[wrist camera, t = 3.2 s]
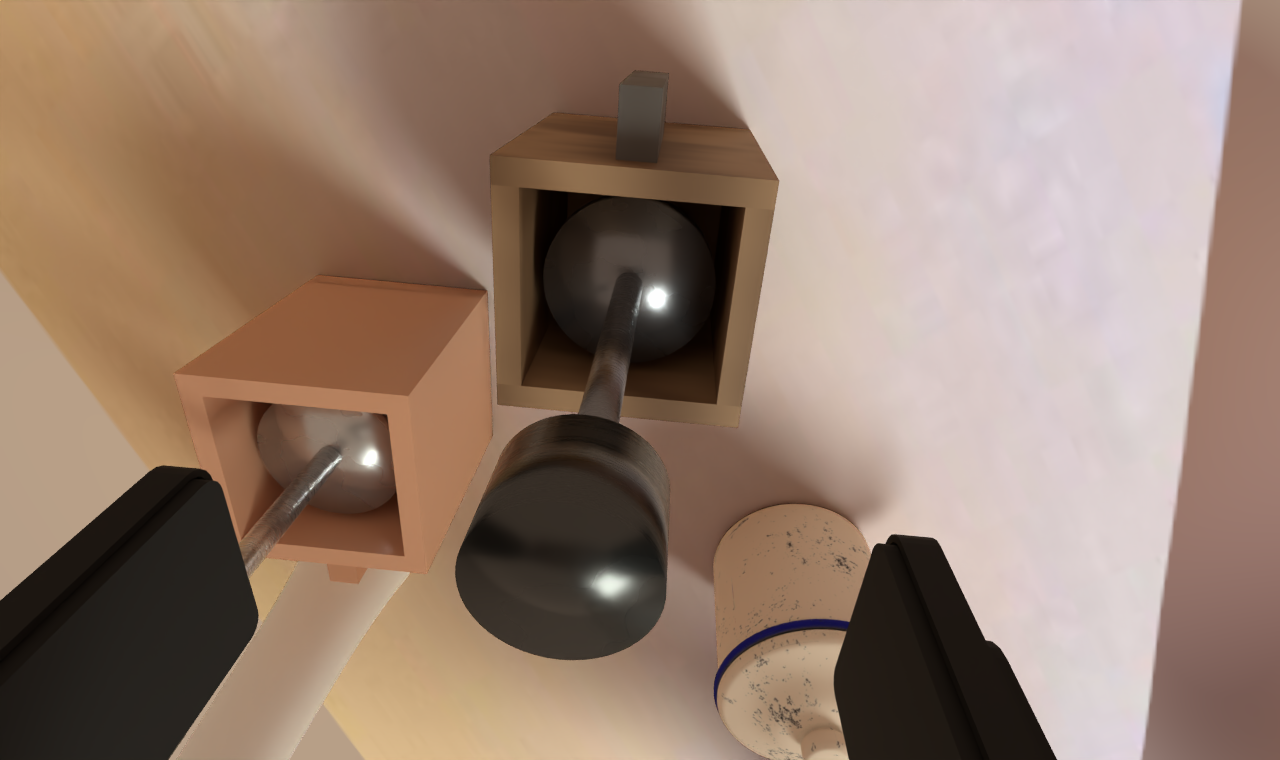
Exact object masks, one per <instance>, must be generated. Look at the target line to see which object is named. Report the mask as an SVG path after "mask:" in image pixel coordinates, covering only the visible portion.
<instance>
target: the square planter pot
mask: <svg viewBox="0 0 1280 760" xmlns="http://www.w3.org/2000/svg"><path fill="white" fill-rule="evenodd" d="M173 374H174V378H175V381H176V385H177V388H178V392H179V395H180V399H181V402H182V406H183V409H184V412H185V416H186V419H187V423H188V426H189V430H190V433H191V437H192V440H193V444H194V447H195V450H196V454H197V457H198V461H199V464H200V468H201V469H203V470H206V471H207V472H208V473H209V474H210V475H211V477H212V479H213V481H217V482H218V483H219V484H220V485H221V487H222V489H223V492H224V496H225V499H226V502H227V506H228V509H229V513H230V516H231V520H232V523H233V527H234V530H235V533H236V537H237V540H238V544H239V542H240V541H241V540H242V539H243V538H244V537H245V535H246V534H247V533H248V532H249V531H250V530H251V529H252V527H253V526H254V525H255V524H256V523H257V522H258V520H259V519H260V518H261V517H262V516H263V515H264V513H265V512H266V511H267V510H268V509H269V508H270V507H271V505H272V504H273V503H274V502H275V501H276V500H277V498H278V497H279V496H280V495H281V494H282V493H283V491H284V490H285V489H284V488H283V487H282V486H281V485H280V484H279V483H278V482H277V481H276V480H275V479H274V478H273V477H272V475H271V474H270V473H269V471H268V470H267V468H266V466H265V465H264V463H263V460H262V458H261V456H260V452H259V449H258V443H257V432H258V426H259V423H260V420H261V418H262V417H263V415H264V413H265V412H266V411H267V410H268V408H269V407H270V406H271V405H272V404H273V403H275V404H286V405H296V406H306V407H317V408H327V409H337V410H348V411H358V412H368V413H379V414H387V416H388V425H389V433H390V441H391V449H392V457H393V465H394V473H395V482H396V490H397V491H396V492H395V494H394V495H393V496H392V497H391V498H390V499H389V500H388V501H387V502H386V503H384V504H383V505H381V506H380V507H378V508H375V509H373V510H370V511H367V512H362V513H354V514H343V513H335V512H329V511H325V510H322V509H319V508H316V507H313V506H311V505H309V504H307V506H306V507H305V508H304V509H303V511H302V512H301V513H300V514H299V516H298V517H297V518H296V520H295V521H294V522H293V523H292V525H291V526H290V527H289V528H288V530H287V531H286V532H285V533H284V535H283V536H282V537H281V539H280V540H279V541H278V542H277V544H276V545H275V546H274V547H273V549H272V550H271V551H270V552H269V554H268V555H267V556H266V557H265V558H274V559H284V560H294V561H304V562H313V563H323V564H327V568H328V573H329V578H330V581H333V582H343V583H353V584H359V582H360V580H361V579H362V577H363V575H364V574H365V572H366V570H367V569H368V568H372V569H382V570H392V571H402V572H411V573H421V574H427V573H428V571H429V569H430V566H431V564H432V562H433V560H434V558H435V556H436V554H437V552H438V550H439V547H440V545H441V543H442V541H443V539H444V537H445V535H446V533H447V531H448V528H449V526H450V524H451V522H452V520H453V518H454V516H455V514H456V512H457V510H458V507H459V505H460V503H461V501H462V499H463V497H464V495H465V493H466V491H467V488H468V486H469V484H470V482H471V480H472V478H473V476H474V474H475V472H476V469H477V467H478V465H479V463H480V461H481V459H482V457H483V455H484V453H485V451H486V448H487V446H488V444H489V442H490V440H491V438H492V436H493V428H492V400H491V373H490V346H489V318H488V291H486V290H475V289H464V288H453V287H442V286H432V285H421V284H410V283H399V282H388V281H378V280H367V279H356V278H345V277H334V276H323V275H317V276H316V277H314V278H313V279H311V280H310V281H308V282H307V283H305V284H304V285H302V286H301V287H300V288H298V289H297V290H295V291H294V292H292V293H291V294H289V295H288V296H286V297H285V298H283V299H282V300H280V301H279V302H278V303H276V304H275V305H273V306H272V307H270V308H269V309H267V310H266V311H264V312H263V313H261V314H260V315H258V316H257V317H255V318H254V319H253V320H251V321H250V322H248V323H247V324H245V325H244V326H242V327H241V328H239V329H238V330H236V331H235V332H233V333H232V334H231V335H229V336H228V337H226V338H225V339H223V340H222V341H220V342H219V343H217V344H216V345H214V346H213V347H211V348H210V349H209V350H207V351H206V352H204V353H203V354H201V355H200V356H198V357H197V358H195V359H194V360H192V361H191V362H189V363H188V364H186V365H185V366H184V367H182V368H181V369H179V370H178V371H176V372H175V373H173Z"/></svg>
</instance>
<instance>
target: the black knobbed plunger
mask: <svg viewBox="0 0 1280 760" xmlns="http://www.w3.org/2000/svg"><path fill="white" fill-rule="evenodd" d="M257 443H258V449H259V452H260V456H261V458H262V460H263V463H264V465H265V466H266V468H267V470H268V471H269V473H270V474H271V475H272V477H273V478H274V479H275V480H276V481H277V482H278V483H279V484H280V485H281V486H282V487H283V488H284V489H285V490H284V491H283V493H282V494H281V495H280V496H279V497H278V498H277V500H276V501H275V502H274V503H273V504H272V505H271V507H270V508H269V509H268V510H267V511H266V512H265V513H264V515H263V516H262V517H261V518H260V519H259V520H258V522H257V523H256V524H255V525H254V526H253V527H252V529H251V530H250V531H249V532H248V533H247V534H246V535H245V537H244V538H243V539H242V540H241V541H240V542H239V547H240V551H241V554H242V558H243V561H244V564H245V568H246V571H247V575H248V578H250V576H251V575H252V574H253V573H254V571H255V570H256V569H257V568H258V566H259V565H260V564H261V563H262V561H263V560H264V559H265V557H266V556H267V555H268V554H269V552H270V551H271V550H272V549H273V547H274V546H275V545H276V544H277V542H278V541H279V540H280V539H281V537H282V536H283V535H284V533H285V532H286V531H287V530H288V528H289V527H290V526H291V525H292V523H293V522H294V521H295V520H296V518H297V517H298V516H299V514H300V513H301V512H302V511H303V509H304V508H305V507H306V506H307V504H309V505H311V506H313V507H316V508H319V509H322V510H325V511H329V512H335V513H343V514H354V513H362V512H367V511H370V510H373V509H375V508H378V507H380V506H381V505H383V504H384V503H386V502H387V501H388V500H389V499H390V498H391V497H392V496H393V495H394V494H395V492H396V491H397V490H396V482H395V473H394V465H393V457H392V449H391V441H390V433H389V425H388V416H387V414H379V413H368V412H358V411H348V410H337V409H327V408H317V407H306V406H296V405H286V404H275V403H273V404H272V405H271V406H270V407H269V408H268V410H267V411H266V412H265V413H264V415H263V417H262V418H261V420H260V423H259V426H258V432H257ZM185 735H186V734H185ZM184 737H185V736H184ZM184 737H183V738H184ZM182 740H183V739H182ZM182 740H181V741H182ZM180 743H181V742H180ZM180 743H179V744H180ZM179 744H178V745H179ZM177 747H178V746H177ZM177 747H176V748H177ZM175 750H176V749H175ZM175 750H174V751H175ZM172 754H173V753H172ZM170 757H171V756H170ZM168 760H169V759H168Z"/></svg>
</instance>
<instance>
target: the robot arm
mask: <svg viewBox="0 0 1280 760" xmlns="http://www.w3.org/2000/svg"><path fill="white" fill-rule="evenodd" d="M257 623H258V609H257V606H256V602H255V599H254V595H253V592H252V589H251V585H250V582H249V578H248V575H247V571H246V568H245V564H244V561H243V558H242V554H241V551H240V547H239V544H238V540H237V537H236V533H235V530H234V527H233V523H232V520H231V516H230V513H229V509H228V506H227V502H226V499H225V496H224V492H223V489H222V487H221V485H220V484H219V483H218V482H217V481H213V479H212V477H211V475H210V474H209V473H208V472H207V471H206V470H203V469H196V468H185V467H174V466H164V465H163V466H159V467H156V468H154V469H153V470H151V471H149V472H148V473H147V474H146V475H145V476H144V477H143V478H142V479H140V480H139V481H138V482H137V483H136V484H134V485H133V486H132V487H131V488H130V489H129V490H128V491H126V492H125V493H124V494H123V495H122V496H121V497H119V498H118V499H117V500H116V501H115V502H114V503H113V504H111V505H110V506H109V507H108V508H107V509H106V510H105V511H103V512H102V513H101V514H100V515H99V516H98V517H96V518H95V519H94V520H93V521H92V522H91V523H89V524H88V525H87V526H86V527H85V528H84V529H82V530H81V531H80V532H79V533H78V534H77V535H76V536H74V537H73V538H72V539H71V540H70V541H69V542H67V543H66V544H65V545H64V546H63V547H62V548H61V549H59V550H58V551H57V552H56V553H55V554H54V555H52V556H51V557H50V558H49V559H48V560H47V561H46V562H45V563H43V564H42V565H41V566H40V567H39V568H37V569H36V570H35V571H34V572H33V573H32V574H31V575H29V576H28V577H27V578H26V579H25V580H24V581H22V582H21V583H20V584H19V585H18V586H17V587H15V588H14V589H13V590H12V591H11V592H10V593H9V594H8V595H6V596H5V597H4V598H3V599H2V600H0V760H168V759H169V758H170V756H171V755H172V753H173V752H174V750H175V749H176V747H177V746H178V744H179V743H180V742H181V740H182V739H183V737H184V736H185V734H186V733H187V731H188V730H189V728H190V727H191V725H192V724H193V723H194V721H195V720H196V718H197V717H198V715H199V714H200V712H201V711H202V710H203V708H204V707H205V705H206V704H207V702H208V701H209V699H210V698H211V696H212V695H213V693H214V692H215V691H216V689H217V688H218V686H219V685H220V683H221V682H222V680H223V679H224V678H225V676H226V675H227V673H228V672H229V670H230V669H231V667H232V666H233V664H234V663H235V662H236V660H237V659H238V657H239V656H240V654H241V653H242V651H243V650H244V648H245V647H246V645H247V644H248V643H249V641H250V640H251V638H252V636H253V635H254V632H255V630H256V627H257ZM834 693H835V699H836V703H837V708H838V712H839V717H840V721H841V726H842V731H843V735H844V740H845V744H846V749H847V753H848V758H849V760H1057V759H1056V757H1055V755H1054V753H1053V751H1052V749H1051V747H1050V745H1049V743H1048V741H1047V739H1046V737H1045V735H1044V733H1043V731H1042V729H1041V727H1040V725H1039V723H1038V721H1037V719H1036V717H1035V715H1034V713H1033V711H1032V709H1031V707H1030V705H1029V703H1028V701H1027V698H1026V696H1025V694H1024V692H1023V690H1022V688H1021V686H1020V684H1019V682H1018V680H1017V678H1016V676H1015V674H1014V672H1013V670H1012V668H1011V666H1010V664H1009V662H1008V660H1007V658H1006V657H1005V655H1004V654H1003V652H1002V651H1001V649H1000V648H999V647H998V646H997V645H996V644H994V643H993V642H992V641H986V640H985V638H984V636H983V634H982V632H981V630H980V628H979V626H978V624H977V622H976V620H975V617H974V615H973V613H972V611H971V609H970V607H969V605H968V603H967V601H966V599H965V597H964V594H963V592H962V590H961V588H960V586H959V584H958V582H957V580H956V578H955V576H954V573H953V571H952V569H951V567H950V565H949V563H948V561H947V559H946V557H945V555H944V552H943V550H942V548H941V546H940V545H939V543H938V542H937V540H935V539H934V538H928V537H917V536H907V535H896V534H894V535H891V536H890V537H889V538H888V540H887V542H886V544H880V543H878V544H876V545H875V546H874V548H873V551H872V554H871V557H870V560H869V563H868V566H867V569H866V572H865V576H864V579H863V582H862V585H861V588H860V591H859V594H858V597H857V600H856V604H855V607H854V610H853V613H852V616H851V619H850V622H849V625H848V628H847V632H846V635H845V638H844V641H843V644H842V647H841V650H840V653H839V656H838V660H837V663H836V666H835V670H834Z"/></svg>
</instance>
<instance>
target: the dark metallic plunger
mask: <svg viewBox="0 0 1280 760" xmlns="http://www.w3.org/2000/svg"><path fill="white" fill-rule="evenodd" d="M543 284H544V292H545V297H546V301H547V303H548V306H549V309H550V311H551V313H552V315H553V317H554V319H555V321H556V322H557V324H558V325H559V327H560V328H561V329H562V330H563V331H564V333H565V334H566V335H567V336H568V337H569V338H570V339H571V340H573V341H574V342H575V343H576V344H577V345H579V346H580V347H582V348H583V349H585V350H587V351H588V352H590V353H592V354H594V355H595V356H594V359H593V363H592V367H591V370H590V374H589V377H588V381H587V384H586V388H585V391H584V395H583V398H582V402H581V406H580V409H579V413H578V414H569V415H559V416H554V417H549V418H546V419H543V420H540V421H538V422H536V423H533V424H531V425H529V426H528V427H526V428H525V429H523V430H522V431H520V432H519V433H518V434H517V435H516V436H514V437H513V438H512V439H511V441H510V442H509V443H508V444H507V445H506V447H505V449H504V450H503V452H502V454H501V456H500V458H499V460H498V463H497V465H496V467H495V470H494V472H493V474H492V477H491V479H490V481H489V483H488V486H487V488H486V490H485V493H484V495H483V497H482V500H481V502H480V504H479V507H478V509H477V511H476V513H475V516H474V518H473V520H472V523H471V525H470V527H469V530H468V532H467V534H466V536H465V539H464V541H463V543H462V546H461V548H460V551H459V553H458V556H457V561H456V566H455V577H456V583H457V588H458V591H459V594H460V597H461V599H462V601H463V603H464V605H465V606H466V608H467V609H468V611H469V612H470V614H471V615H472V616H473V617H474V618H475V620H476V621H477V622H478V623H479V624H480V625H481V626H482V627H484V628H485V629H486V630H487V631H488V632H489V633H491V634H492V635H494V636H495V637H497V638H498V639H500V640H501V641H503V642H505V643H507V644H508V645H510V646H513V647H515V648H517V649H519V650H522V651H525V652H528V653H531V654H534V655H538V656H542V657H547V658H553V659H562V660H585V659H593V658H599V657H603V656H608V655H611V654H614V653H617V652H620V651H622V650H624V649H626V648H628V647H630V646H632V645H633V644H635V643H636V642H638V641H639V640H641V639H642V638H643V637H644V636H645V635H646V634H648V632H649V631H650V630H651V629H652V628H653V627H654V626H655V624H656V622H657V621H658V619H659V618H660V616H661V613H662V611H663V608H664V604H665V600H666V583H667V558H668V532H669V507H670V484H669V478H668V474H667V471H666V468H665V466H664V464H663V462H662V460H661V459H660V457H659V456H658V454H657V452H656V451H655V450H654V449H653V448H652V447H651V445H650V444H649V443H648V442H646V441H645V440H644V439H643V438H642V437H641V436H639V435H638V434H637V433H635V432H634V431H632V430H631V429H629V428H627V427H625V426H623V425H621V424H619V420H620V415H621V409H622V403H623V397H624V392H625V386H626V380H627V374H628V368H629V363H637V362H647V361H652V360H656V359H659V358H662V357H665V356H667V355H669V354H671V353H673V352H675V351H677V350H678V349H680V348H681V347H683V346H684V345H685V344H687V343H688V342H689V341H690V340H691V339H692V338H693V337H694V336H695V335H696V334H697V333H698V332H699V330H700V329H701V328H702V326H703V325H704V323H705V321H706V319H707V317H708V316H709V313H710V311H711V308H712V305H713V301H714V296H715V286H716V279H715V268H714V261H713V256H712V252H711V250H710V247H709V244H708V242H707V240H706V238H705V236H704V234H703V233H702V231H701V230H700V228H699V227H698V226H697V224H696V223H695V222H694V221H693V220H692V219H691V218H690V217H689V216H688V215H687V214H686V213H685V212H683V211H682V210H681V209H680V208H678V207H677V206H675V205H673V204H672V203H670V202H668V201H666V200H656V199H645V198H634V197H623V196H611V195H606V196H602V197H600V198H597V199H595V200H592V201H590V202H589V203H587V204H585V205H583V206H582V207H581V208H579V209H578V210H577V211H575V212H574V213H573V214H572V215H571V216H570V217H569V218H568V219H567V220H566V221H565V223H564V224H563V225H562V227H561V228H560V229H559V231H558V233H557V234H556V236H555V238H554V239H553V241H552V243H551V245H550V247H549V250H548V253H547V255H546V259H545V264H544V272H543Z"/></svg>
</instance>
